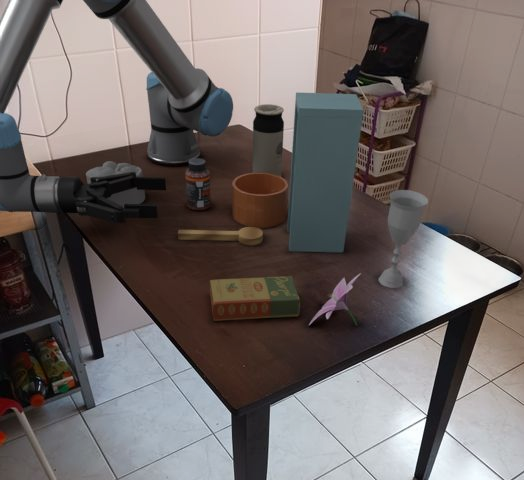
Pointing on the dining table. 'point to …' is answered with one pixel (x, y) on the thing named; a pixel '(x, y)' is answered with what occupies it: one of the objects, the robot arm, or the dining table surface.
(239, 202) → the pot
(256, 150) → the travel mug
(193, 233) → the tan disc-ended rod
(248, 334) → the dining table surface
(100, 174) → the lumpy-topped squat cylinder
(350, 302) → the dining table surface
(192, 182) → the supplement bottle
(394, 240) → the chalice
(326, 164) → the teal bin
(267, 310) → the carton
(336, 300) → the lily
